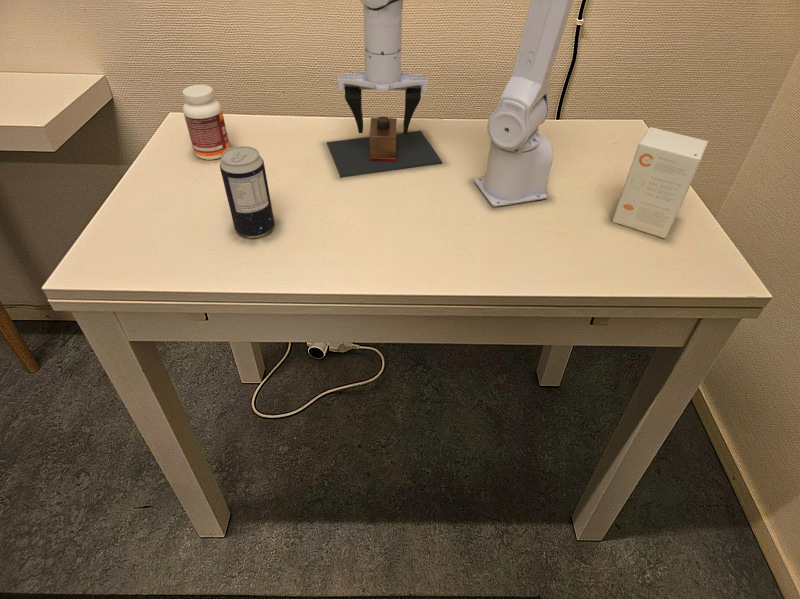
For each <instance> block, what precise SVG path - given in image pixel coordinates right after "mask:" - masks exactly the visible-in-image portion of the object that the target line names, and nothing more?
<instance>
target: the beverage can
mask: <svg viewBox="0 0 800 599" xmlns="http://www.w3.org/2000/svg"><path fill="white" fill-rule="evenodd" d="M264 162H265V161H264V158H262V156H261V155H260V151H259V150H258V149H257V148H255V147H252V146H248V145H237V146H233V147H230V149H227V150H226V151H224V152H223V153H222V155H221V158H220V163H219V169H220V170H219V171H220V174H221V177H222V182H223V186H224V190H225V194H226V199H227V202H228V206H229V211H230V215H231V219H232V224H233V228H234V231H235V232H237V233H238V234H239V235H241V236H243V237H245V238H249V239H258V238H261V237H264V236H265V235H267V234H268V233H269V232H270V231H271V230H272V229H273V228H274V226H275V218H274V217H275V216H274V211H273V207H272V206H273V205H272V200H271V195H270V190H269V184H268V178H267V172H266V167H265V163H264Z"/></svg>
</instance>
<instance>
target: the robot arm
mask: <svg viewBox="0 0 800 599" xmlns="http://www.w3.org/2000/svg"><path fill="white" fill-rule="evenodd" d="M360 2H361V3H362V5H363V6H362V8H363V9H362V11H363V12H362V13H363V44H364V45H363V46H364V71H361V72H353V73H338V74H337V78H336V80H337V90H338V91H340V92H341V91H342V92H343V91H344V99H345V102H346V103H347V105H348V107H349V109H350V111H351V113H352V115H353V117H354V119H355V120H354V121H355V123H356V126H357V130H358V131H357V132H358V134H363V132H364V117H363V116H364V115H363V108H362V99H363V98H362V90H375V91H376V92H389V91H405V94H404V95H405V96H404V115H403V125H402V126H403V130H402V131H403V132H402V133H403V134H408V132H409V127H410V124H411V121H412V118H413V115H414V114H415V113H414V112H415V111H416V109H417V107H418V106H419V104H420V102H421V99H422V93H428V92H429V76H428V75H421V74H420V75H419V74H413V73H406V72H402V31H403V28H402V26H403V9H404V0H360ZM573 4H574V0H531V1H530V4H529V8H528V12H527V16H526V19H525V22H524V28H523V31H522V35H521V38H520V41H519V46H518V50H517V54H516V56H515V57H516V58H515V61H514V65H513V69H512V72H511V76H510V78H509V80H508V82H507V84H506V86H505V88H504V89H503V92H502V94H501V95H500V99H499V103H498V105H497V107H496V108H495V110H494V111H493V112H492V113H491V114H490V115H489V118H488V119H487V124H486V132H487V135H488V137H489V139H490V142H489V148H488V156H487V163H486V170H485V176H484V177H479V178H478V177H477V178H475V179H474V184H475V185H476V186H477V187H478V189H479V190H480V192H481V193H482V194H483V195H484V197H485V198H486V200H487V201H488V202H489V204H490V205H491V206H492V207H494V208H498V207H503V206H504V207H505V206H509V205H515V204H523V203H529V202H534V201H541V200H546V199H548V195H547V194H546V190H547V186H548V181H549V178H550V173H551V169H552V166H553V160H554V152H553V150H554V149H553V146H552V143H551V141H550V139H549V138H548V137H547V136H545V135H541V134H540V131H539V127H540V126H541V125H542V124H543V123H544V122H545V121H546V120H547V118H548V116H549V113H550V102H549V94H550V90H551V86H552V83H551V81H550V76H551V73H552V70H553V66H554V64H555V60H556V57H557V54H558V50H559V48H560V45H561V42H562V38H563V35H564V33H565V29H566V25H567V23H568V20H569V16H570V13H571V10H572V7H573Z"/></svg>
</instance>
